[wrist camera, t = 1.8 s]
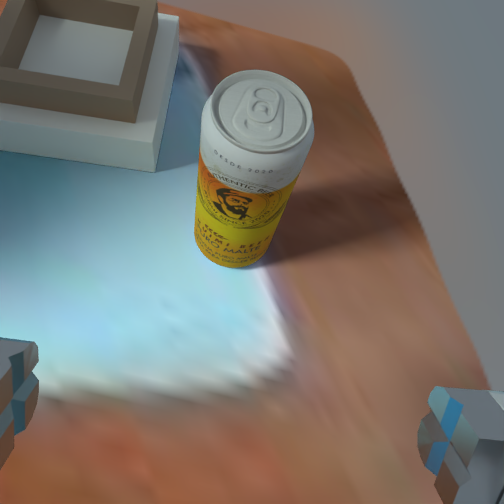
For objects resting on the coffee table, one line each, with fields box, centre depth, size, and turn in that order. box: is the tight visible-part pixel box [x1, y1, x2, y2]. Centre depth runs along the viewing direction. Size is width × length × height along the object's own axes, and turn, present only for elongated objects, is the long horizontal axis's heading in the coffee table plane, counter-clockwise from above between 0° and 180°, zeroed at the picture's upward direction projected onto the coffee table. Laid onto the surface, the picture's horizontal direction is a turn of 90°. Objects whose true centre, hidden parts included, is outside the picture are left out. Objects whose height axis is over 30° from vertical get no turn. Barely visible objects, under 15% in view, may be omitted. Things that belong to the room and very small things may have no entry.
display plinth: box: [0, 0, 179, 173], centre depth 37 cm, size 14×14×6 cm
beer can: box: [194, 70, 314, 268], centre depth 30 cm, size 6×6×15 cm
